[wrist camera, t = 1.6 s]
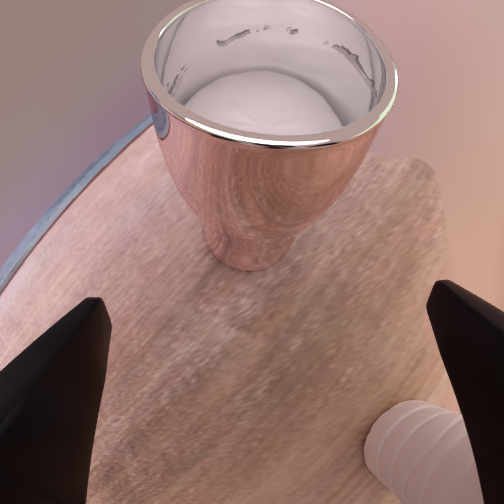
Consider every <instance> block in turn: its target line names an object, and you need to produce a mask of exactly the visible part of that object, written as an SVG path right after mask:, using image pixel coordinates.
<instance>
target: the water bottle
mask: <svg viewBox="0 0 504 504" xmlns="http://www.w3.org/2000/svg"><path fill="white" fill-rule="evenodd" d="M364 456H365V463H366V465H367V467H368V469H369V470H370V471H371V473H372V474H373V475H374V476H376V478H377V479H378V480H380V481H381V482H382V483H383V484H384V485H385V486H386V487H387V488H388V489H389V490H390V491H391V492H392V493H394V494H395V495H396V496H397V497H398V499H399V500H400V501H401V502H402V503H404V504H484V502H483V497H482V492H481V487H480V482H479V477H478V471H477V468H476V464H475V460H474V456H473V452H472V448H471V444H470V441H469V437H468V434H467V430H466V427H465V424H464V420H463V417H462V414H461V413H457V412H455V411H452V410H449V409H446V408H441V407H439V406H437V405H434V404H431V403H428V402H425V401H421V400H408V401H403V402H401V403H398V404H396V405H394V406H392V407H391V408H390V409H389V410H388V411H386V412H384V413H383V414H382V415H381V416H380V417H379V418H378V419H377V420H376V422H375V423H374V424H373V426H372V428H371V431H370V433H369V434H368V435H367V438H366V441H365V445H364Z"/></svg>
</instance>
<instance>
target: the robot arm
mask: <svg viewBox="0 0 504 504" xmlns="http://www.w3.org/2000/svg"><path fill="white" fill-rule="evenodd" d="M426 308H427V313H428V316H429V319H430V322H431V325H432V329H433V332H434V335H435V338H436V342H437V345H438V348H439V352H440V355H441V357H442V360H443V363H444V365H445V368H446V371H447V373H448V376H449V379H450V382H451V384H452V387H453V390H454V393H455V396H456V399H457V402H458V405H459V408H460V411H461V414H462V417H463V420H464V424H465V427H466V430H467V434H468V437H469V441H470V444H471V448H472V452H473V456H474V460H475V464H476V468H477V471H478V477H479V482H480V487H481V492H482V497H483V502H484V504H504V312H503V311H501V310H500V309H498V308H496V307H495V306H493V305H491V304H490V303H488V302H486V301H484V300H483V299H481V298H480V297H478V296H476V295H474V294H473V293H471V292H469V291H468V290H466V289H464V288H462V287H460V286H459V285H457V284H455V283H454V282H452V281H450V280H439V281H436V282H435V284H434V286H433V288H432V291H431V293H430V296H429V299H428V301H427V305H426ZM111 330H112V325H111V320H110V317H109V314H108V312H107V309H106V306H105V303H104V301H103V300H102V298H100V297H88V298H86V299H84V300H83V301H82V302H81V303H79V304H78V305H77V306H76V307H74V308H73V309H72V310H71V311H70V312H68V313H67V314H66V315H65V316H63V317H62V318H61V319H60V320H59V321H57V322H56V323H55V324H54V325H53V326H52V327H50V328H49V329H48V330H47V331H46V332H44V333H43V334H42V335H41V336H40V337H39V338H37V339H36V340H35V341H34V342H33V343H32V344H30V345H29V346H28V347H27V348H26V349H25V350H24V351H22V352H21V353H20V354H19V355H18V356H17V357H16V358H15V359H13V360H12V361H11V362H10V363H9V364H8V365H7V366H6V367H5V368H3V369H2V370H1V371H0V504H86V496H87V487H88V478H89V470H90V462H91V455H92V448H93V442H94V436H95V430H96V424H97V419H98V413H99V408H100V403H101V398H102V393H103V388H104V383H105V377H106V370H107V361H108V352H109V344H110V337H111Z"/></svg>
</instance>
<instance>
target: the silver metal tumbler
mask: <svg viewBox="0 0 504 504" xmlns="http://www.w3.org/2000/svg"><path fill="white" fill-rule="evenodd" d="M141 74H142V78H143V81H144V84H145V86H146V89H147V93H148V98H149V103H150V108H151V114H152V118H153V123H154V127H155V131H156V135H157V139H158V143H159V146H160V149H161V152H162V155H163V158H164V161H165V164H166V166H167V169H168V171H169V173H170V175H171V177H172V179H173V181H174V183H175V185H176V187H177V189H178V191H179V193H180V195H181V196H182V198H183V199H184V200H185V202H186V203H187V204H188V206H189V207H190V208H191V209H192V211H193V212H194V213H195V214H196V215H197V217H198V218H199V219H200V220H202V221H203V231H204V237H205V240H206V243H207V245H208V247H209V249H210V250H211V252H212V253H213V254H214V256H215V257H216V258H217V259H218V260H220V261H221V262H222V263H224V264H225V265H227V266H229V267H231V268H234V269H237V270H241V271H259V270H263V269H267V268H269V267H271V266H273V265H275V264H276V263H278V262H279V261H281V260H282V259H283V258H284V257H285V256H286V254H287V253H288V252H289V250H290V248H291V246H292V244H293V242H294V239H295V234H296V233H298V232H300V231H301V230H303V229H305V228H306V227H307V226H309V225H310V224H311V223H313V222H314V221H315V220H317V219H318V218H319V217H320V216H322V215H323V214H324V213H325V212H326V211H327V210H328V209H329V208H330V207H331V205H332V204H333V203H334V202H335V201H336V200H337V198H338V197H339V196H340V195H341V194H342V193H343V191H344V190H345V189H346V187H347V186H348V184H349V183H350V181H351V180H352V178H353V177H354V175H355V173H356V172H357V170H358V169H359V167H360V166H361V164H362V162H363V160H364V158H365V156H366V154H367V153H368V151H369V149H370V147H371V145H372V143H373V141H374V139H375V137H376V135H377V133H378V131H379V128H380V127H381V125H382V123H383V121H384V119H385V117H386V116H387V115H388V114H389V112H390V111H391V109H392V107H393V105H394V103H395V100H396V97H397V91H398V74H397V70H396V66H395V63H394V60H393V58H392V56H391V54H390V52H389V50H388V49H387V47H386V46H385V44H384V43H383V41H382V40H381V39H380V38H379V37H378V35H377V34H376V33H375V32H374V31H373V30H372V29H371V28H370V27H369V26H368V25H366V24H365V23H364V22H363V21H361V20H360V19H359V18H357V17H356V16H355V15H353V14H351V13H350V12H348V11H347V10H345V9H343V8H341V7H339V6H338V5H335V4H333V3H331V2H329V1H327V0H191V1H189V2H187V3H185V4H183V5H182V6H180V7H178V8H177V9H175V10H174V11H172V12H171V13H169V14H168V15H167V16H166V17H165V18H163V19H162V20H161V21H160V22H159V23H158V24H157V26H156V27H155V28H154V29H153V31H152V32H151V33H150V35H149V37H148V39H147V41H146V43H145V45H144V47H143V50H142V55H141Z"/></svg>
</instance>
